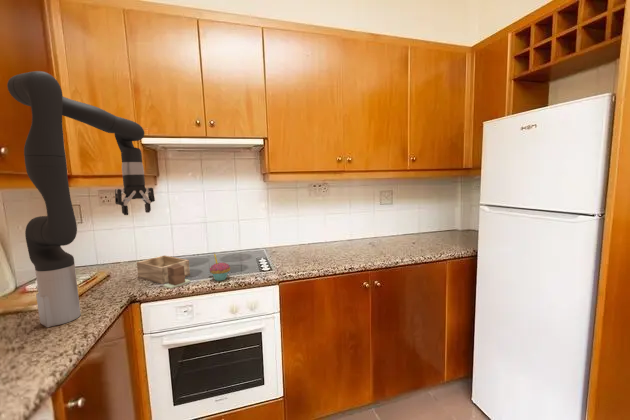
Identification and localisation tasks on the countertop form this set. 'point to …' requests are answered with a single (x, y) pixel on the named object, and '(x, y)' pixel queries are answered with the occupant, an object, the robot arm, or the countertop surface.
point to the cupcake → (219, 270)
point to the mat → (175, 285)
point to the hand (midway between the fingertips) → (137, 213)
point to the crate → (160, 268)
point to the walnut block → (176, 274)
